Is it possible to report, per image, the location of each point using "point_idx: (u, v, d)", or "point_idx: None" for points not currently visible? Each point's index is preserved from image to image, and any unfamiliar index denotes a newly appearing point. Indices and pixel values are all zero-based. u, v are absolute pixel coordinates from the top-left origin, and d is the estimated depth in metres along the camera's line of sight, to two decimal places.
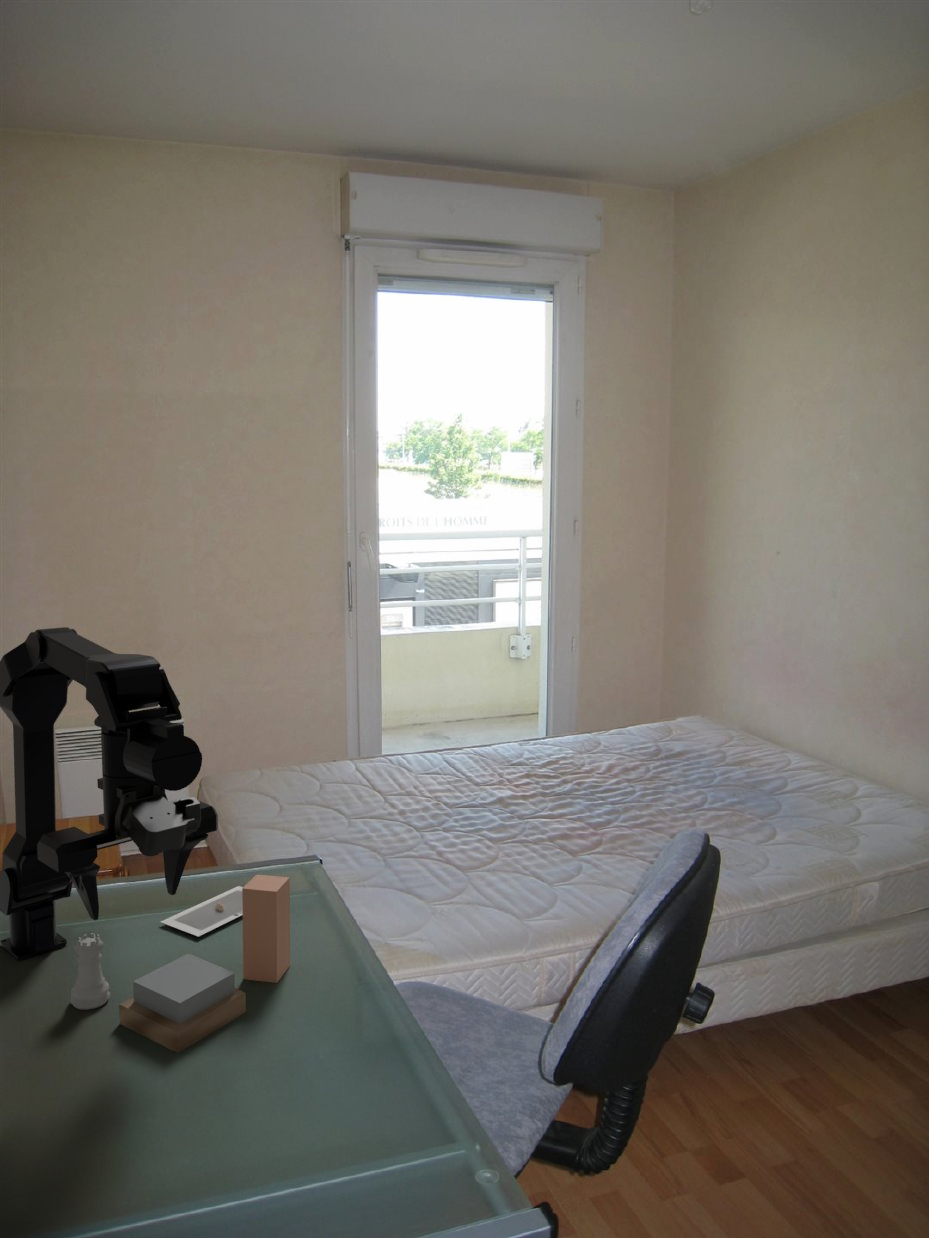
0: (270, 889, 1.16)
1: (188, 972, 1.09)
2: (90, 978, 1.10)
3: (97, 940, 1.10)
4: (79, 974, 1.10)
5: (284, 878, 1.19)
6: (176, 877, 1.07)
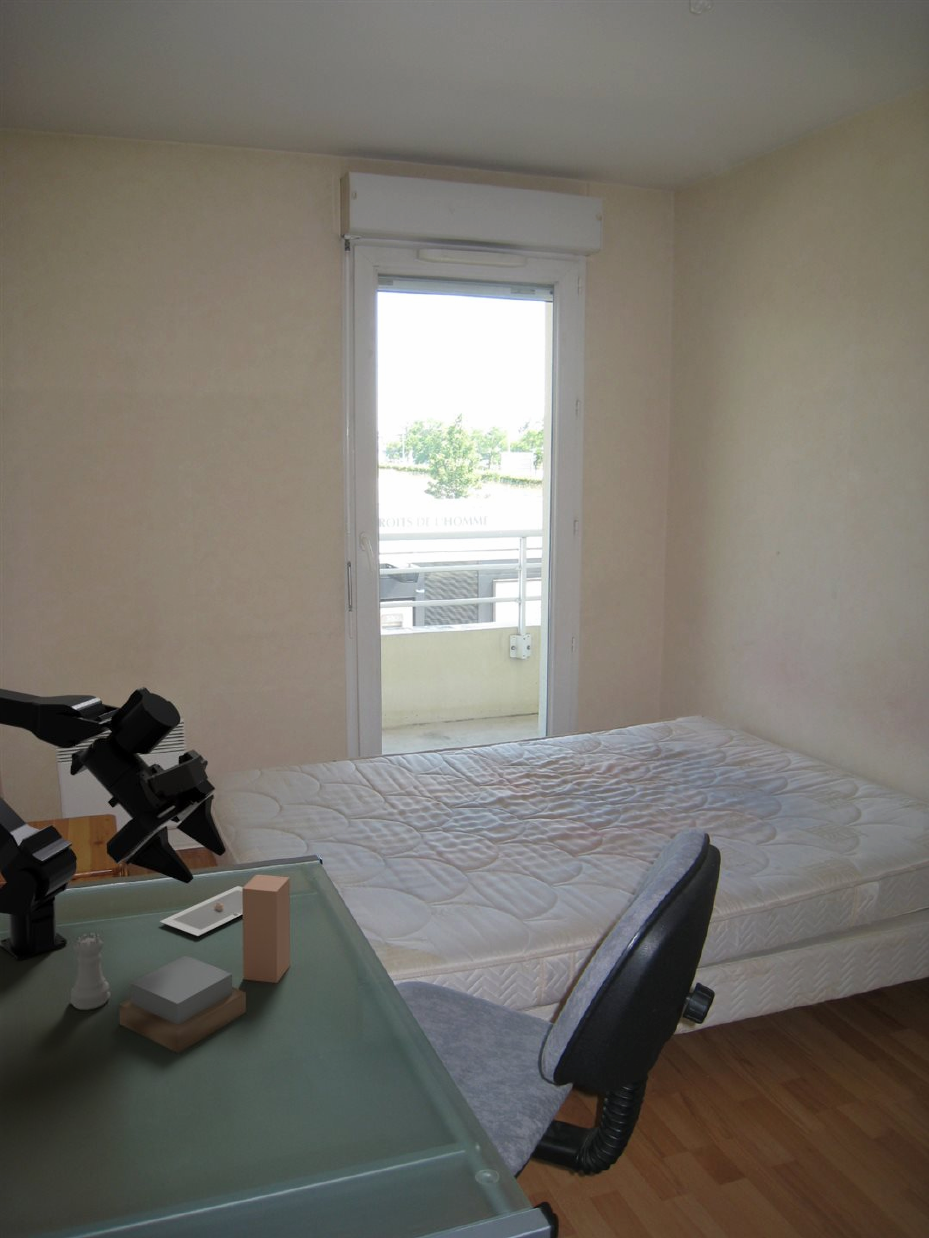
0: (270, 889, 1.16)
1: (185, 974, 1.09)
2: (90, 978, 1.10)
3: (97, 940, 1.10)
4: (79, 974, 1.10)
5: (284, 878, 1.19)
6: (217, 836, 1.23)
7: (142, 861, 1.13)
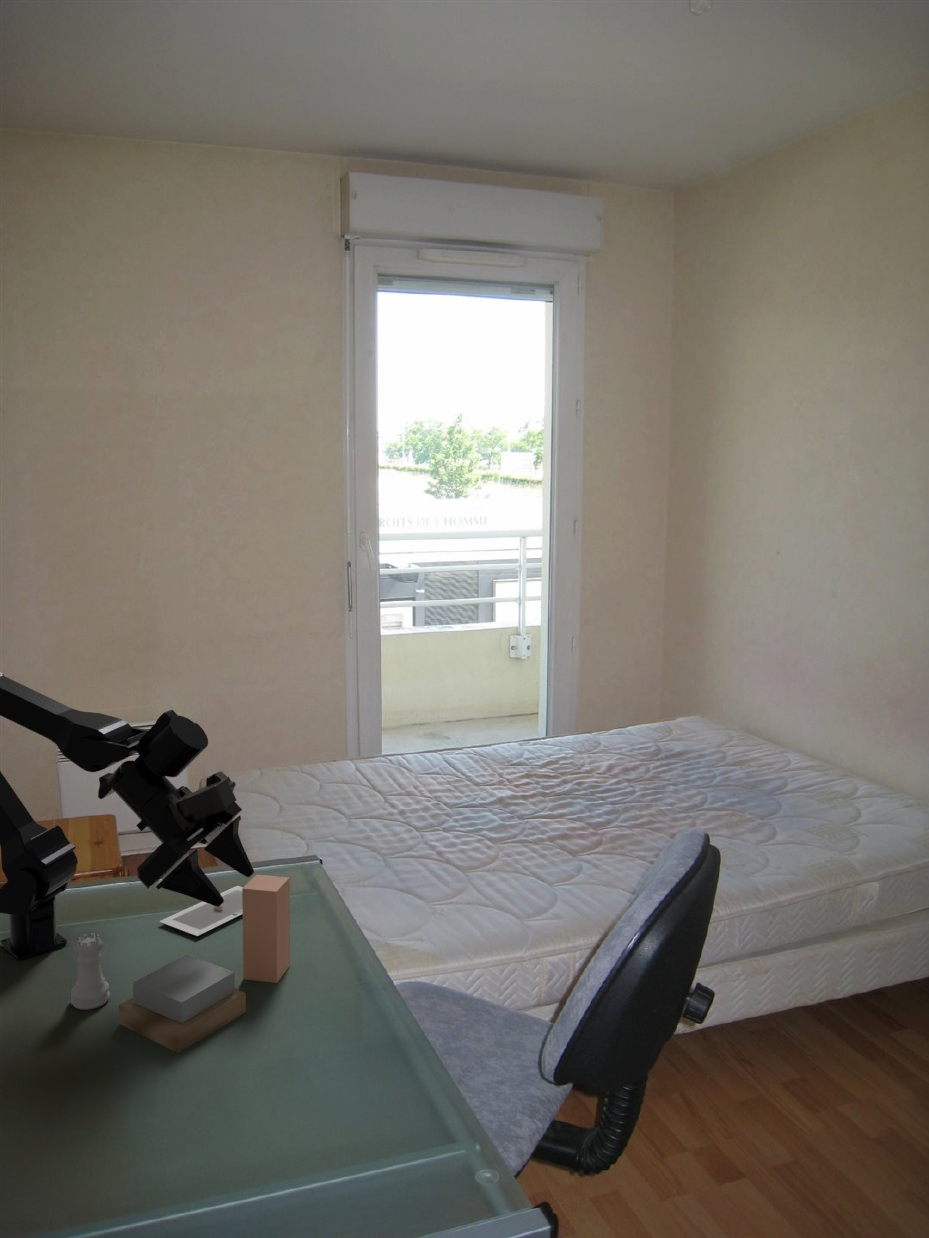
0: (270, 889, 1.16)
1: (188, 973, 1.09)
2: (90, 978, 1.10)
3: (97, 940, 1.10)
4: (79, 974, 1.10)
5: (284, 878, 1.19)
6: (245, 857, 1.23)
7: (173, 885, 1.13)
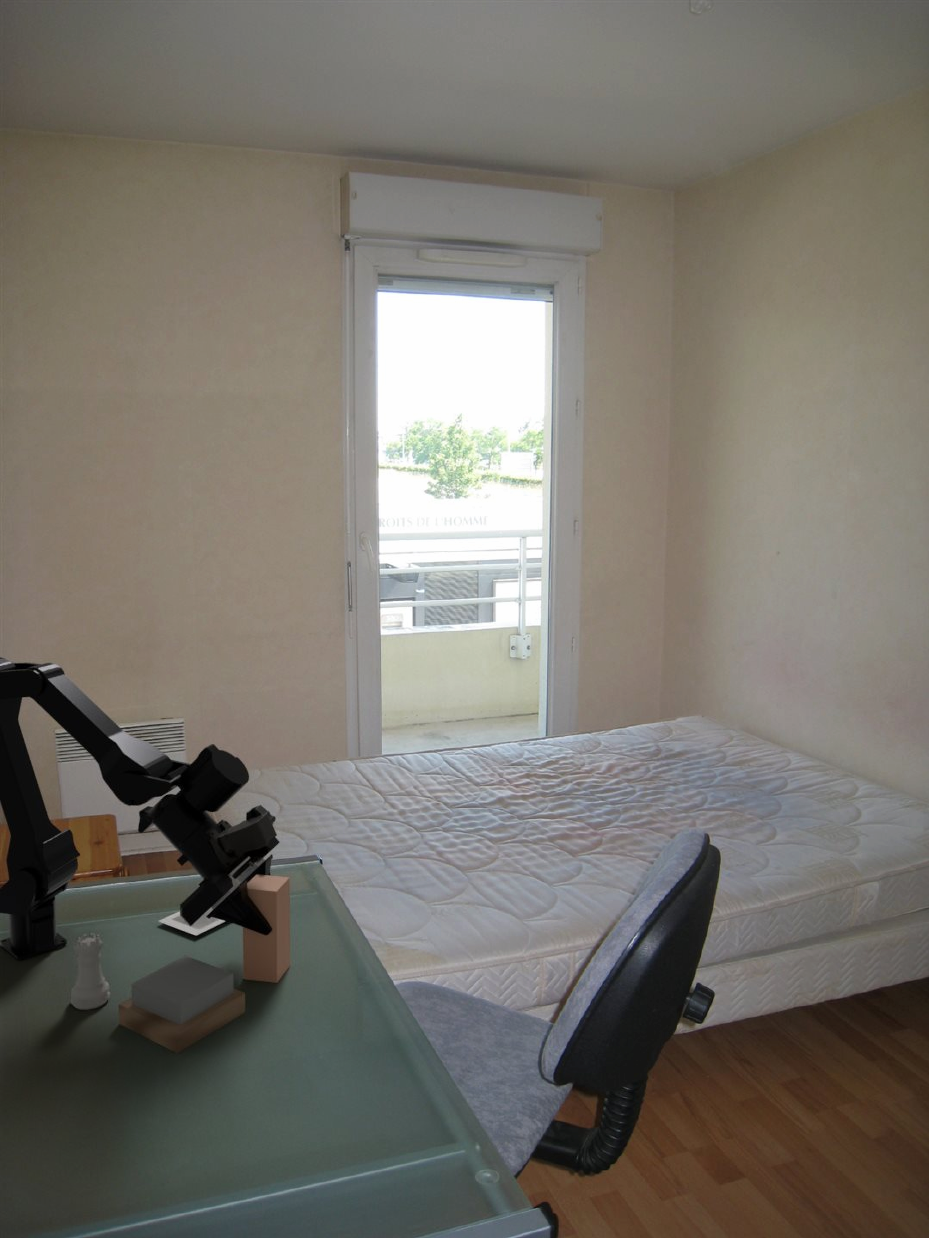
0: (270, 889, 1.16)
1: (186, 974, 1.09)
2: (90, 978, 1.10)
3: (97, 940, 1.10)
4: (79, 974, 1.10)
5: (284, 878, 1.19)
6: None
7: (222, 914, 1.15)
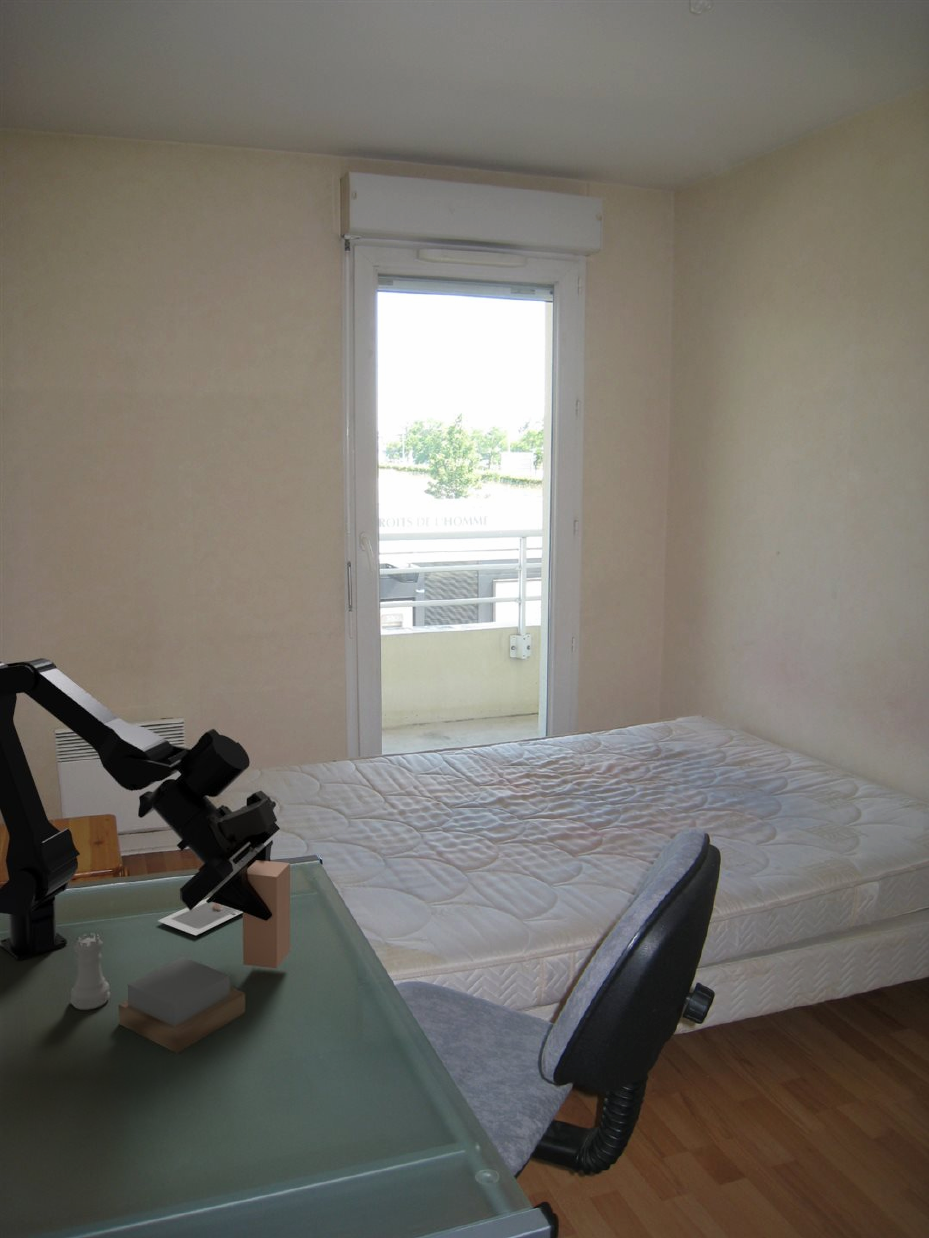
0: (270, 874, 1.15)
1: (183, 975, 1.08)
2: (90, 978, 1.10)
3: (97, 940, 1.10)
4: (79, 974, 1.10)
5: (285, 864, 1.19)
6: None
7: (222, 899, 1.14)
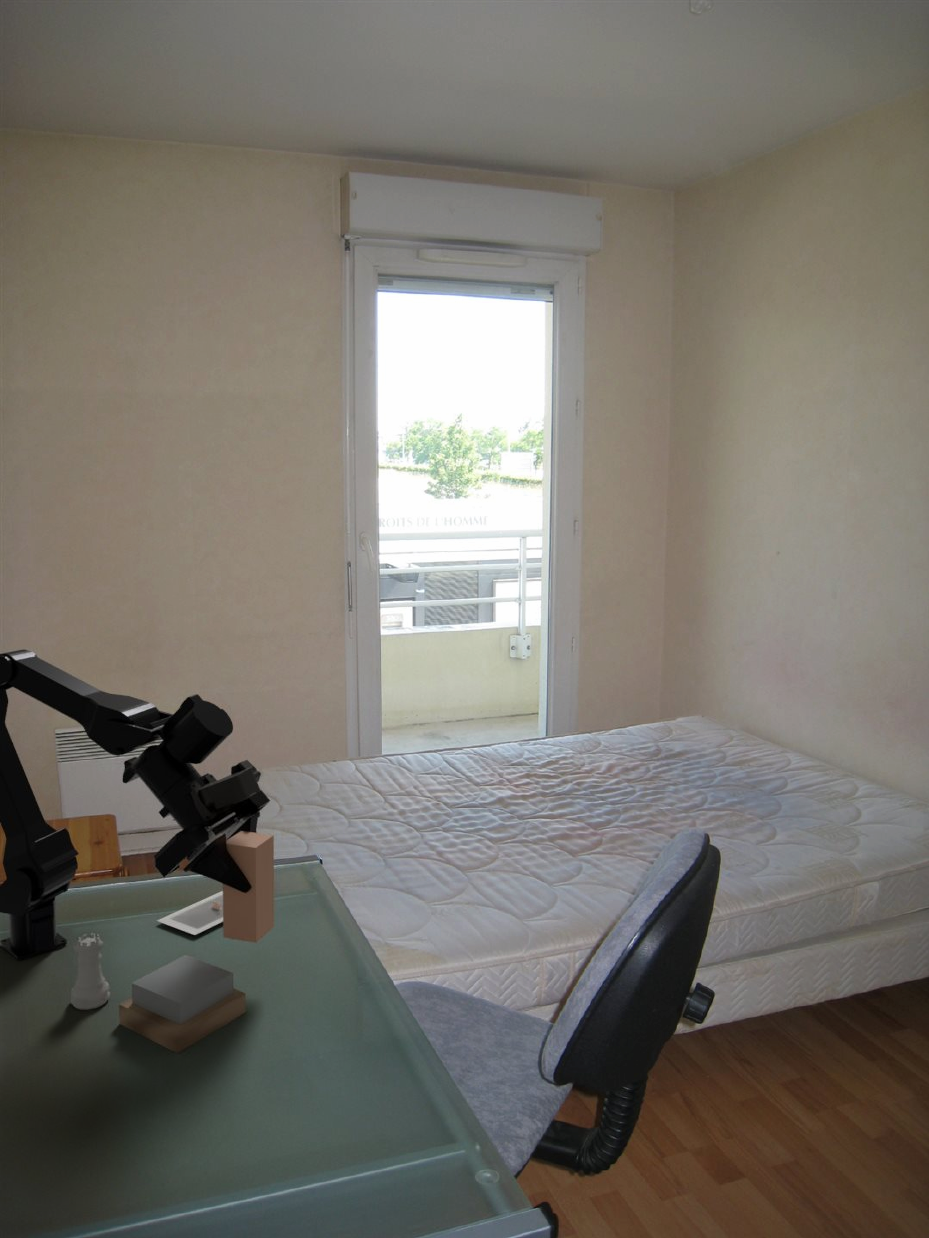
0: (250, 845, 1.12)
1: (186, 973, 1.09)
2: (90, 978, 1.10)
3: (97, 940, 1.10)
4: (79, 974, 1.10)
5: (268, 836, 1.15)
6: None
7: (200, 868, 1.11)
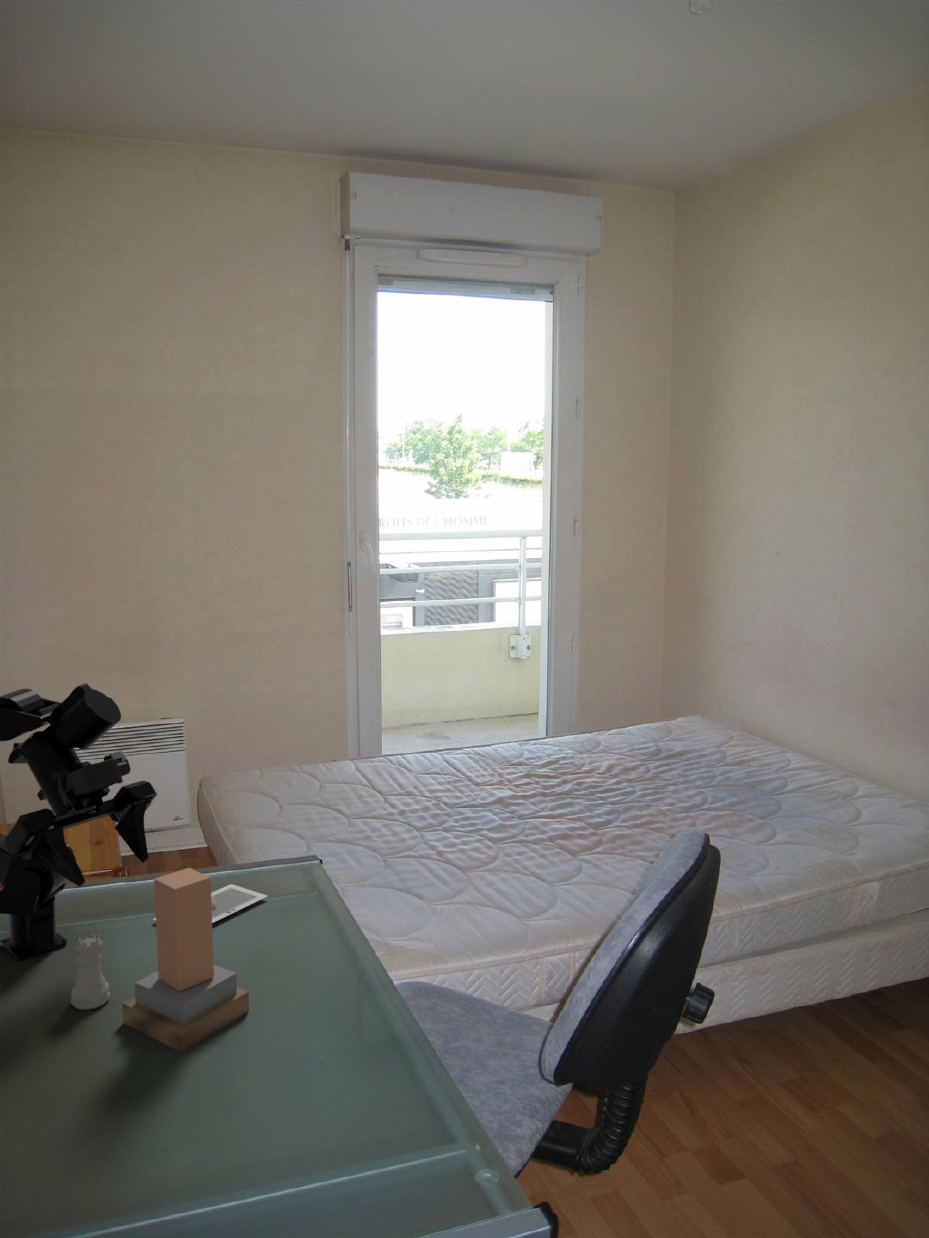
0: (173, 885, 1.04)
1: None
2: (90, 978, 1.10)
3: (97, 940, 1.10)
4: (79, 974, 1.10)
5: (204, 877, 1.06)
6: (141, 842, 1.20)
7: (41, 857, 1.13)
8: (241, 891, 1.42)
